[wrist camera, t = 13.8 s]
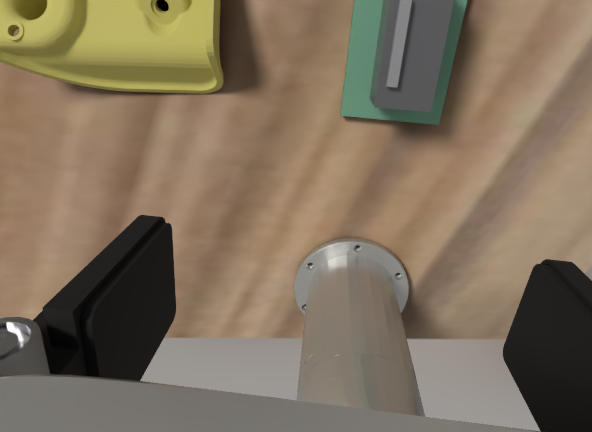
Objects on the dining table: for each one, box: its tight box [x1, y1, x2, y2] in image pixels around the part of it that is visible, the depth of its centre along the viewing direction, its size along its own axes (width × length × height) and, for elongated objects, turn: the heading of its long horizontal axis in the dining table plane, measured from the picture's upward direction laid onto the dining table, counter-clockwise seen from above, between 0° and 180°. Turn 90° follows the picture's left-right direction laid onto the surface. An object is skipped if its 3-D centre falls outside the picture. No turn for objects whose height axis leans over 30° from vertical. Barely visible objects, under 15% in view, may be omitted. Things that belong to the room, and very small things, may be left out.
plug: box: [369, 0, 454, 112], centre depth 32 cm, size 9×4×6 cm, turn 176°
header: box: [340, 0, 467, 125], centre depth 34 cm, size 12×9×4 cm
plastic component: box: [0, 0, 224, 94], centre depth 35 cm, size 20×7×10 cm
